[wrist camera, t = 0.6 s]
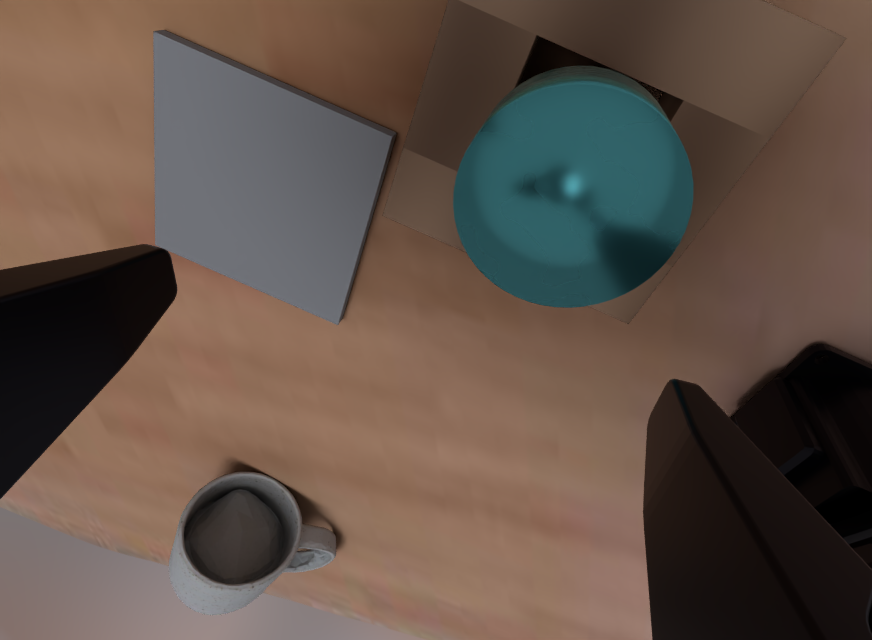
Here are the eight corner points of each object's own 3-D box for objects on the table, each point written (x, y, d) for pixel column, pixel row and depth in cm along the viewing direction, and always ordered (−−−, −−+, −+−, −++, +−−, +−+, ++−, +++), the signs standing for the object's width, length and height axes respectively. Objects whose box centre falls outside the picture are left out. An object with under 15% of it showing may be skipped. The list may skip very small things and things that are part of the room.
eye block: (805, 27, 15) (846, 38, 13) (623, 284, 21) (628, 324, 19) (502, -109, 15) (486, -124, 13) (405, 188, 21) (382, 215, 19)
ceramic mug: (203, 504, 40) (137, 601, 34) (224, 451, 35) (150, 554, 29) (322, 562, 41) (278, 667, 35) (358, 519, 36) (314, 631, 30)
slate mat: (396, 132, 20) (392, 136, 19) (342, 318, 26) (337, 325, 25) (163, 29, 20) (153, 31, 19) (163, 239, 26) (155, 244, 25)
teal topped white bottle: (683, 76, 17) (751, 148, 10) (601, 211, 20) (609, 338, 13) (539, 12, 17) (508, 40, 10) (479, 158, 20) (424, 256, 13)
